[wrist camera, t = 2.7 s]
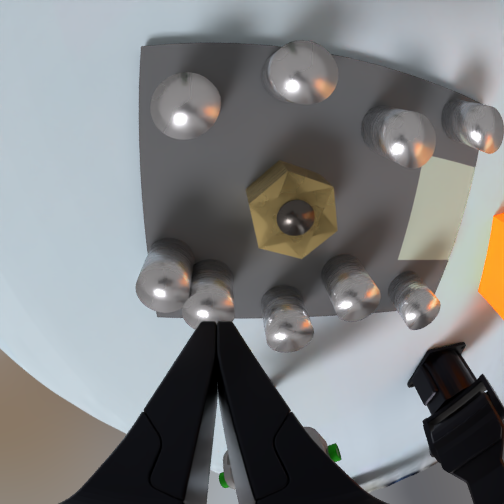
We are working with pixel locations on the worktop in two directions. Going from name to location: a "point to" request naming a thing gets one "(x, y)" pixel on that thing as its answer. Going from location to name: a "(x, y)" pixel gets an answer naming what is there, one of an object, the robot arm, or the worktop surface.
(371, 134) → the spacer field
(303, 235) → the nut
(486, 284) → the orange juice
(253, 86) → the mat
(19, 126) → the worktop surface
